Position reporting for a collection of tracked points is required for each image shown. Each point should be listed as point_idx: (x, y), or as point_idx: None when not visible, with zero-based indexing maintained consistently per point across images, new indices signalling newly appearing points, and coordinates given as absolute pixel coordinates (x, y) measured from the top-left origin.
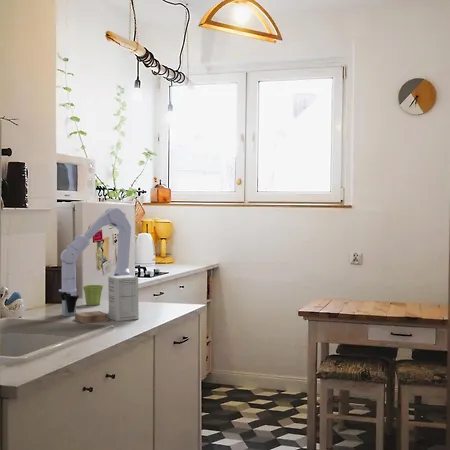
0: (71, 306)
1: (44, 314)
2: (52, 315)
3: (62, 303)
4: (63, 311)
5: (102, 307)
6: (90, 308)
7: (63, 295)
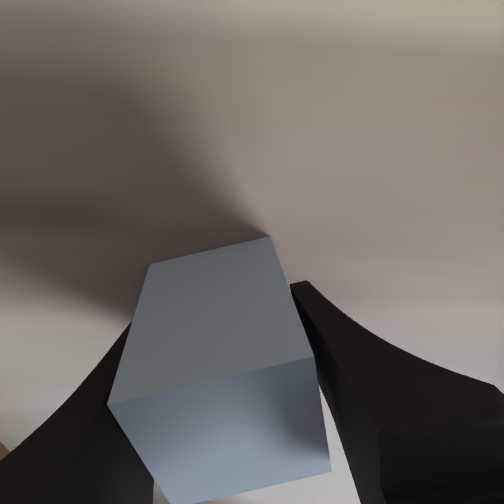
0: None
1: (379, 10)
2: (247, 125)
3: (268, 326)
4: (210, 273)
5: None
6: None
7: (372, 461)
